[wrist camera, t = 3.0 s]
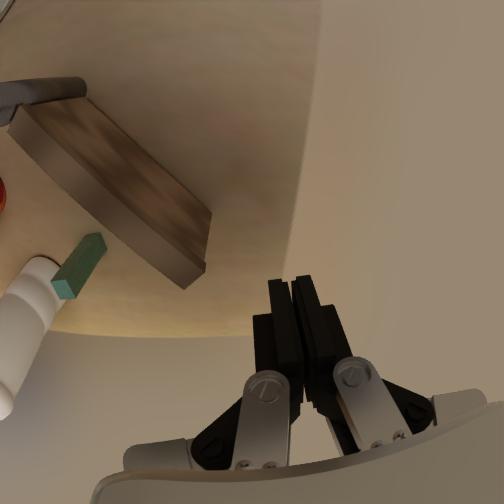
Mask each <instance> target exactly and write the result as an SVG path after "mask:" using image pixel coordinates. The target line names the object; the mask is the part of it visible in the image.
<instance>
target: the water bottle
mask: <svg viewBox="0 0 504 504" xmlns="http://www.w3.org/2000/svg"><path fill="white" fill-rule="evenodd" d="M59 269H60V267H59V266H58V265H56V264H55V263H54V262H53V261H51V260H49V259H47V258H44V257H34V258H32V259H31V260H29V261H28V262H27V264H26V265H25V266H24V267H23V269H22V270H21V272H20V273H19V275H18V277H16V278H15V279H14V280H13V281H12V282H11V283H10V285H9V286H8V287H7V289H6V291H5V293H4V295H3V297H2V298H1V299H0V420H3V419H4V418H5V417H7V416H8V415H9V414H10V413H11V411H12V409H13V407H14V398H15V396H16V395H17V393H18V391H19V389H20V387H21V385H22V383H23V381H24V379H25V377H26V375H27V373H28V371H29V368H30V366H31V364H32V362H33V360H34V358H35V355H36V353H37V351H38V349H39V346H40V344H41V342H42V339H43V336H44V334H45V333H46V332H47V331H48V330H49V328H50V327H51V325H52V323H53V321H54V319H55V316H56V313H57V312H58V311H59V310H60V309H61V307H62V306H63V304H64V303H65V301H66V299H63V300H60V299H59V297H58V295H57V293H56V292H55V290H54V288H53V286H52V284H51V283H50V281H51V280H52V278H53V277H54V275H55V274H56V273H57V271H58V270H59Z"/></svg>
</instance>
